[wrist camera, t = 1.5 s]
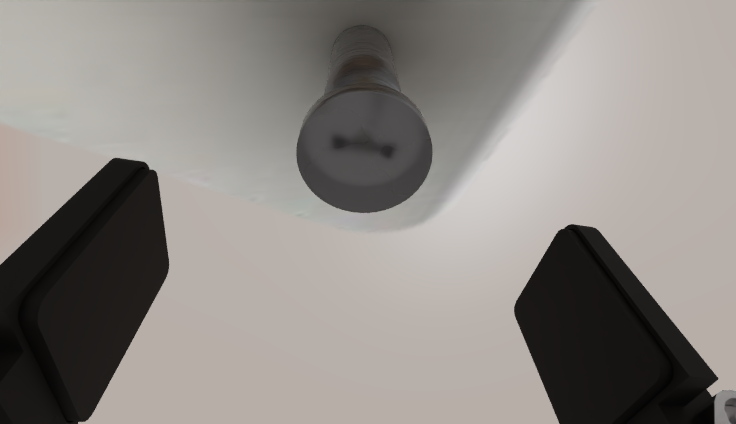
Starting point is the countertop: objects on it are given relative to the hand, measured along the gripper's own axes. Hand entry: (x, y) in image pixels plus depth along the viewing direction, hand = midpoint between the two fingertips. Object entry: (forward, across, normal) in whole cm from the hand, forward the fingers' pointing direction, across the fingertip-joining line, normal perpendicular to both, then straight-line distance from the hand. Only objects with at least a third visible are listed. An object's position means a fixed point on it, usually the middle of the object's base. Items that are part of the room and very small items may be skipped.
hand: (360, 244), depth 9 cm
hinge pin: (+14, 0, -1) cm, 14 cm away
